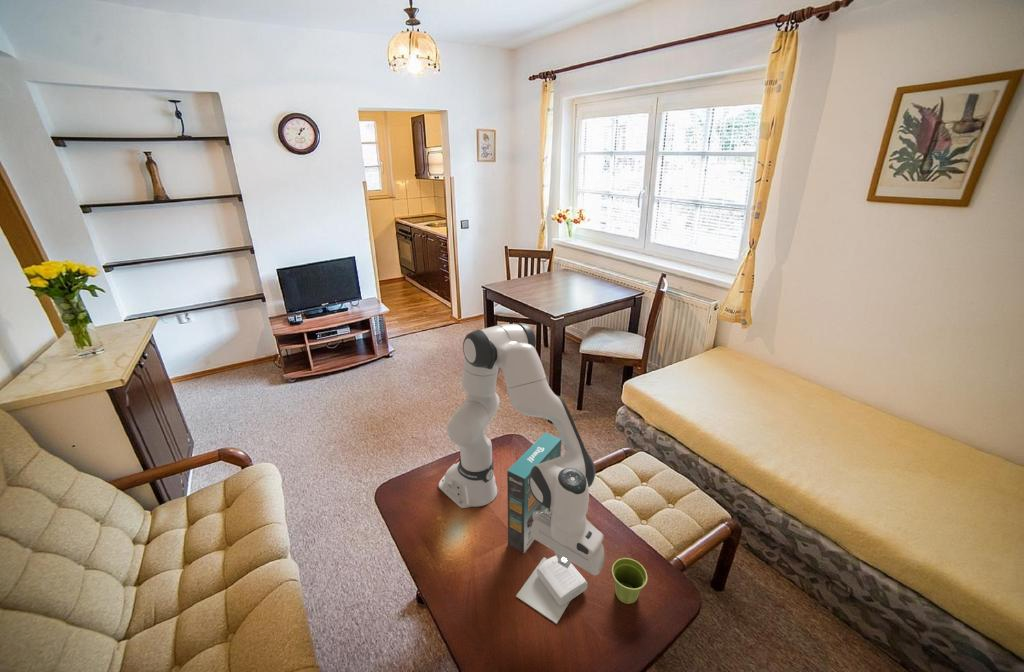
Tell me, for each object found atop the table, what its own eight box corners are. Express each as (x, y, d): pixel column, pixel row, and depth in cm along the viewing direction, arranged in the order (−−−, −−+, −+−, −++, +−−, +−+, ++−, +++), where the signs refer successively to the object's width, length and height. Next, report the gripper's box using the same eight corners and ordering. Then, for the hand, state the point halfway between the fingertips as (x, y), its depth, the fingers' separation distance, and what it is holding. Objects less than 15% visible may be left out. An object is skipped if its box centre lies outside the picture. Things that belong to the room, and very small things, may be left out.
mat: (516, 596, 117) (516, 595, 117) (543, 557, 128) (543, 556, 128) (556, 624, 110) (556, 623, 110) (582, 580, 121) (582, 579, 121)
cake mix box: (542, 501, 149) (545, 432, 137) (557, 508, 146) (561, 438, 134) (507, 544, 133) (507, 470, 121) (523, 553, 130) (524, 478, 118)
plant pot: (637, 617, 112) (641, 595, 108) (604, 599, 116) (607, 578, 113) (647, 589, 119) (651, 568, 116) (615, 573, 124) (618, 552, 120)
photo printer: (588, 590, 118) (560, 557, 128) (588, 579, 116) (561, 547, 126) (559, 609, 113) (533, 574, 123) (559, 599, 111) (533, 564, 121)
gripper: (526, 514, 109) (525, 551, 115) (598, 556, 98) (593, 595, 104) (539, 500, 114) (537, 536, 119) (609, 538, 103) (603, 576, 109)
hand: (563, 564), depth 112 cm, fingers closed
